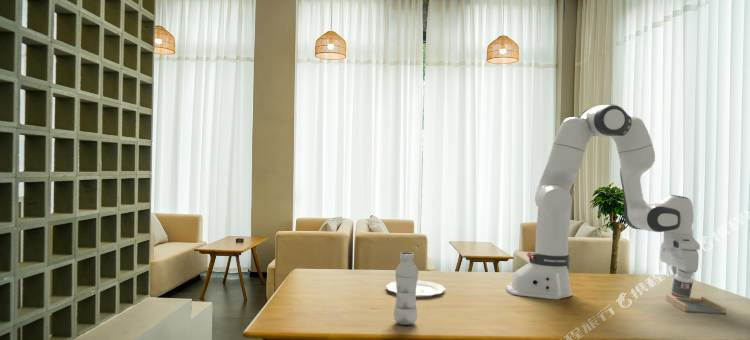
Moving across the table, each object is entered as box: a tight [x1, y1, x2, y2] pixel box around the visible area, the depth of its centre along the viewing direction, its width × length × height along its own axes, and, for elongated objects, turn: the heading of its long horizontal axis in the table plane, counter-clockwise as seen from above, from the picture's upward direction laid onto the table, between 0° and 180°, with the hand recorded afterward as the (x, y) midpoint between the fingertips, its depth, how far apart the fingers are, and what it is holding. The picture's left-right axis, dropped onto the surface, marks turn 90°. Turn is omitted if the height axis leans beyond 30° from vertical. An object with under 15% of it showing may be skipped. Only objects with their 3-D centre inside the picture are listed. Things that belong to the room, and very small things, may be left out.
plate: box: [385, 279, 446, 298], centre depth 170 cm, size 21×21×2 cm
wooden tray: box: [665, 294, 727, 315], centre depth 157 cm, size 12×14×2 cm
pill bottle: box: [670, 269, 694, 298], centre depth 166 cm, size 6×6×10 cm
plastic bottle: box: [393, 251, 419, 326], centre depth 135 cm, size 6×7×20 cm
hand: (677, 279), depth 170 cm, fingers closed
